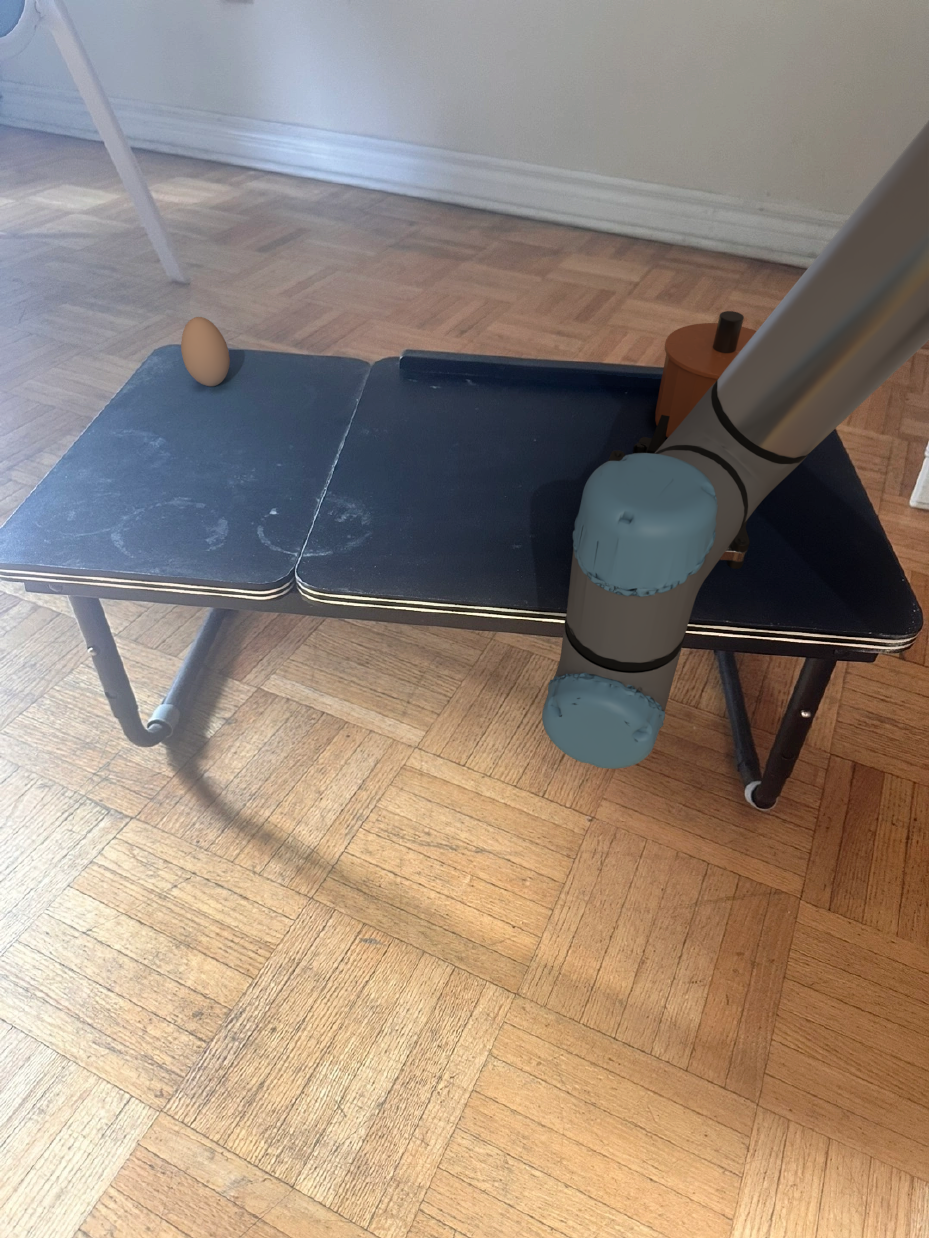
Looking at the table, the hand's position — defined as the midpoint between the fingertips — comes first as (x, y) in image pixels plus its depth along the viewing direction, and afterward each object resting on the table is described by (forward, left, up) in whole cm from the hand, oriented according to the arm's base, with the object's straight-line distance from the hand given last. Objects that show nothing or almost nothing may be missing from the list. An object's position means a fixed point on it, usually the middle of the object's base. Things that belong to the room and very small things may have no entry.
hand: (695, 434), depth 77 cm
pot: (+6, -14, -7) cm, 17 cm away
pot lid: (+6, -14, +1) cm, 15 cm away
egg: (+54, +19, -7) cm, 57 cm away
